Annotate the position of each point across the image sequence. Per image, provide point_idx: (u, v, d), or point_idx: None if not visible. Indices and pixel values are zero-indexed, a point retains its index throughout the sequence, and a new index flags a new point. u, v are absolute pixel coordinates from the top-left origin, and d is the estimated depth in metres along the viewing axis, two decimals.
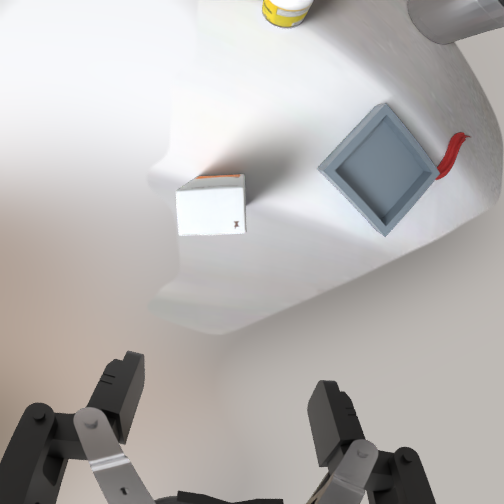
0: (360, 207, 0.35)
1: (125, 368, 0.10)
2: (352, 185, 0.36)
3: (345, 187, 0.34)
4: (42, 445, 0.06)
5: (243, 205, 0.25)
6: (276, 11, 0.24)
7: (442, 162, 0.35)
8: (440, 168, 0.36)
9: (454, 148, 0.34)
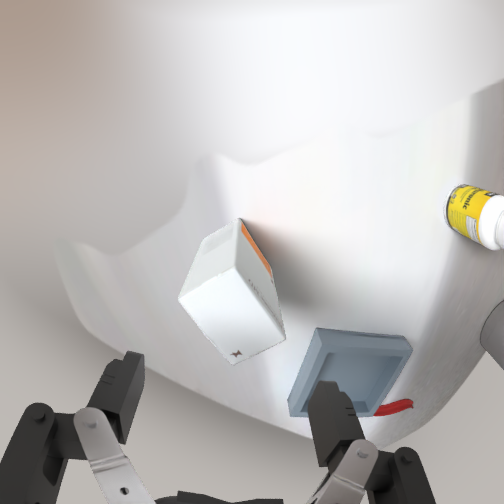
0: (304, 388, 0.31)
1: (125, 368, 0.10)
2: None
3: (316, 368, 0.30)
4: (42, 445, 0.06)
5: (264, 349, 0.18)
6: (470, 217, 0.22)
7: None
8: None
9: (395, 407, 0.37)
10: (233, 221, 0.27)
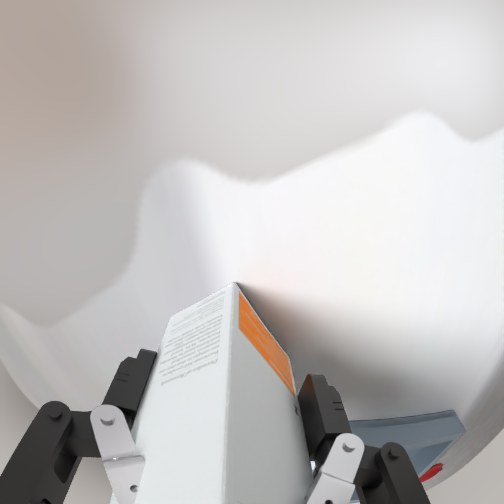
0: None
1: (139, 365, 0.11)
2: None
3: None
4: (55, 443, 0.06)
5: None
6: None
7: None
8: None
9: (423, 475, 0.25)
10: (223, 290, 0.14)
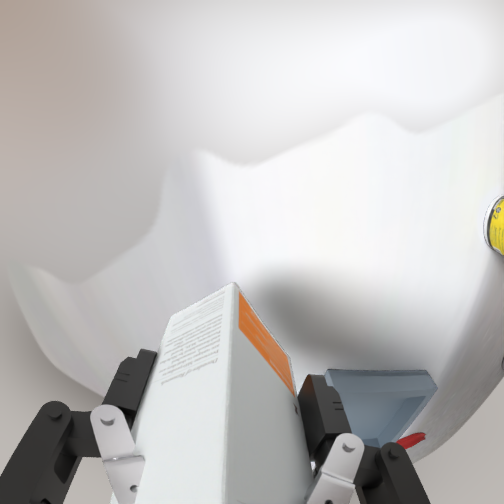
0: None
1: (139, 366, 0.11)
2: None
3: None
4: (56, 443, 0.06)
5: None
6: None
7: None
8: None
9: (406, 443, 0.31)
10: (223, 290, 0.14)
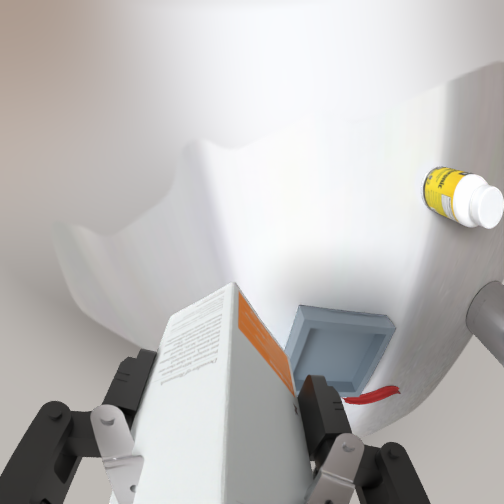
0: None
1: (139, 365, 0.11)
2: None
3: (300, 344, 0.32)
4: (56, 443, 0.06)
5: None
6: (445, 195, 0.25)
7: (362, 396, 0.40)
8: (356, 398, 0.40)
9: (380, 394, 0.40)
10: (223, 290, 0.14)
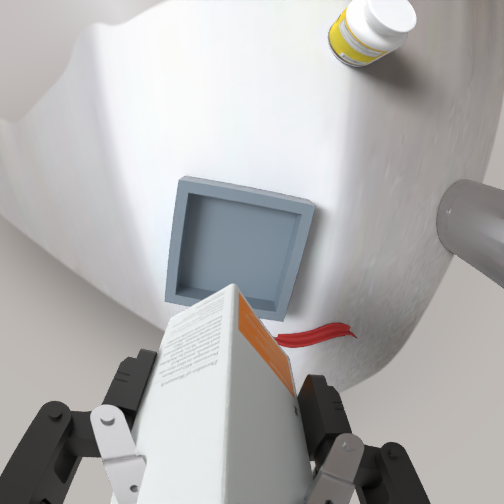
0: (171, 250, 0.27)
1: (139, 365, 0.11)
2: (193, 227, 0.28)
3: (179, 217, 0.26)
4: (55, 443, 0.06)
5: None
6: (341, 22, 0.18)
7: (297, 334, 0.34)
8: (289, 337, 0.34)
9: (323, 334, 0.34)
10: (223, 291, 0.14)
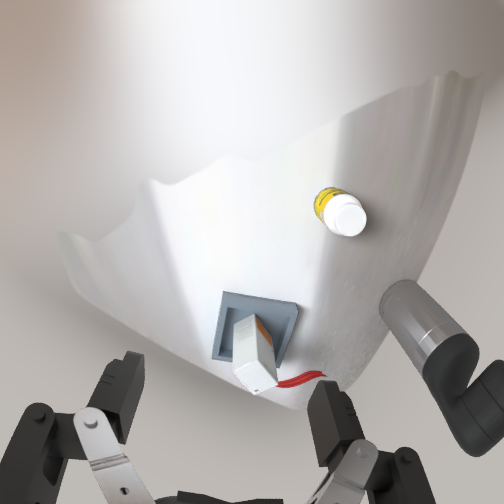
0: (216, 334, 0.47)
1: (125, 368, 0.10)
2: (228, 319, 0.49)
3: (222, 319, 0.46)
4: (42, 445, 0.06)
5: (268, 388, 0.39)
6: (321, 211, 0.39)
7: (288, 381, 0.55)
8: (283, 383, 0.55)
9: (303, 378, 0.55)
10: (251, 316, 0.48)
